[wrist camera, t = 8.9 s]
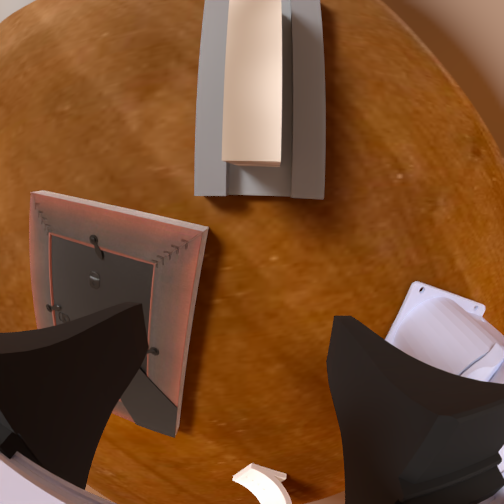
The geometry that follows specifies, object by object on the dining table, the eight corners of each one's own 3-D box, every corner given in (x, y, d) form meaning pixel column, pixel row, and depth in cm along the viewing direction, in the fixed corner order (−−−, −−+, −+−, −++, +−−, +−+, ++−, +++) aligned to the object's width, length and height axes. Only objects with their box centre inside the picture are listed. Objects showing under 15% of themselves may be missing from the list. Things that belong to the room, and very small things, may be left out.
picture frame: (180, 422, 26) (211, 225, 20) (174, 438, 24) (202, 232, 18) (58, 370, 27) (47, 189, 21) (47, 381, 24) (29, 192, 18)
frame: (280, 12, 15) (280, -36, 9) (279, 166, 18) (280, 161, 12) (244, 12, 15) (232, -35, 9) (239, 166, 18) (221, 160, 12)
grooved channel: (315, -1, 15) (318, -13, 13) (319, 197, 19) (323, 199, 17) (211, 0, 15) (206, -12, 13) (201, 194, 19) (194, 195, 18)
